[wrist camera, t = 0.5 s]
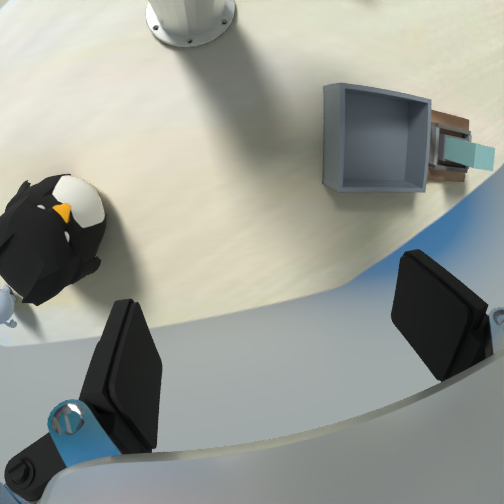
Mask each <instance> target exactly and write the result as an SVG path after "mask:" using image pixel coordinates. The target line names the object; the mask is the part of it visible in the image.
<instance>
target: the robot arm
mask: <svg viewBox="0 0 504 504" xmlns="http://www.w3.org/2000/svg"><path fill="white" fill-rule="evenodd" d="M148 2H149V3H148V5H147V8H146V22H147V24H148V27H149V29H150V31H151V32H152V33H153V34H154V36H155V37H157V38H158V39H159V40H160V41H162V42H164V43H166V44H169V45H172V46H176V47H194V46H200V45H203V44H206V43H209V42H210V41H212V40H214V39H216V38H217V37H219V36H220V35H221V34H223V33H224V31H225V30H226V29H227V28H228V27H229V25H230V23H231V22H232V19H233V17H234V12H235V2H234V0H148ZM222 23H226V24H225V25H223V24H222ZM156 28H158V30H156V31H155V29H156ZM189 41H192V43H188V42H189ZM487 308H488V304H487V303H486V302H484V301H483V300H482V299H481V298H480V297H479V296H477V295H476V294H475V293H474V292H473V291H472V290H470V289H469V288H468V287H467V286H465V285H464V284H463V283H462V282H461V281H460V280H458V279H457V278H456V277H454V276H453V275H452V274H451V273H449V272H448V271H447V270H446V269H445V268H443V267H442V266H440V265H439V264H438V263H437V262H435V261H434V260H433V259H432V258H430V257H429V256H428V255H426V254H425V253H424V252H422V251H421V250H419V249H416V250H412V251H406V252H405V253H404V254H403V256H402V257H401V259H400V264H399V272H398V278H397V284H396V290H395V296H394V301H393V307H392V312H391V319H392V322H393V323H394V325H395V326H396V327H397V329H398V330H399V331H400V332H401V333H402V335H403V336H404V337H405V339H406V340H407V341H408V342H409V344H410V345H411V346H412V347H413V349H414V350H415V351H416V353H417V354H418V355H419V357H420V358H421V359H422V361H423V362H424V363H425V364H426V366H427V367H428V368H429V370H430V371H431V373H432V374H433V375H434V377H435V378H436V379H437V380H440V381H441V383H439V384H437V385H435V386H433V387H430V388H428V389H426V390H424V391H422V392H419V393H417V394H415V395H412V396H410V397H408V398H405V399H403V400H400V401H398V402H395V403H393V404H390V405H388V406H385V407H382V408H380V409H377V410H374V411H371V412H368V413H365V414H363V415H360V416H357V417H353V418H350V419H347V420H344V421H341V422H338V423H334V424H331V425H327V426H323V427H320V428H316V429H312V430H308V431H304V432H300V433H296V434H292V435H288V436H283V437H278V438H273V439H268V440H262V441H257V442H252V443H245V444H239V445H232V446H224V447H215V448H207V449H198V450H187V451H174V452H156V453H152V449H155V448H156V446H157V432H158V415H159V401H160V389H161V378H162V362H161V358H160V356H159V354H158V352H157V349H156V347H155V344H154V341H153V339H152V336H151V334H150V331H149V329H148V326H147V323H146V321H145V318H144V315H143V312H142V310H141V307H140V305H139V303H138V302H135V303H134V301H133V300H132V299H125V300H117V301H115V303H114V305H113V307H112V310H111V313H110V315H109V318H108V320H107V323H106V326H105V328H104V331H103V334H102V336H101V339H100V341H99V342H98V343H97V345H96V348H95V351H94V354H93V356H92V359H91V362H90V365H89V368H88V371H87V375H86V377H85V381H84V384H83V387H82V390H81V393H80V397H79V400H75V399H71V400H66V401H63V402H61V403H59V404H58V405H57V406H56V407H54V409H53V410H52V411H51V412H50V415H49V417H48V423H47V425H48V429H49V433H47V434H46V435H44V436H43V437H42V438H40V439H39V440H37V441H36V442H34V443H33V444H31V445H30V446H29V447H27V448H26V449H24V450H23V451H21V452H20V453H18V454H17V455H16V456H14V457H13V458H12V459H11V460H10V461H9V462H8V464H7V465H6V468H5V481H6V483H5V484H2V483H0V504H504V308H502V307H497V308H494V309H492V310H491V311H490V313H489V316H488V315H487V314H486V310H487Z"/></svg>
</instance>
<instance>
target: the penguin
mask: <svg viewBox="0 0 504 504" xmlns="http://www.w3.org/2000/svg"><path fill="white" fill-rule="evenodd" d="M30 184H31V183H28V180H27V181H25V182H24V183H23V184H22V185H21V187H20V188H19V190H18V192H17V194H16V195H15V196H14V197H13V198H12V199H11V201H10V202H9V203H8V204H7V206H6V209H5V213H4V214H3V215H1V216H0V275H1V276H2V278H3V279H4V280H5V281H6V283H7V284H8V285H9V286H10V287H12V288H13V289H14V290H15V291H16V292H17V293H18V294H19V295H21V296H22V297H23V300H22V303H33V304H34V305H36V306H38V305H40V304H42V303H44V302H46V301H48V300H49V299H51V298H53V297H54V296H56V295H57V294H58V293H59V292H60V291H61V290H62V289H63V288H64V287H66V286H68V285H70V284H74V283H75V282H77V281H79V280H80V279H82V278H83V277H85V276H86V275H89V274H92V273H94V272H95V271H96V270H97V269H98V268H99V266H100V263H101V260H100V259H99V258H98V257H95V256H96V253H97V250H98V247H99V244H100V242H101V240H102V237H103V235H104V232H105V227H106V216H107V215H106V214H105V213H104V209H103V205H102V201H101V198H100V197H99V195H98V193H97V191H96V189H95V188H94V187H93V186H92V185H91V184H89V183H88V182H86V181H85V180H84V179H81V178H77V177H74V176H71V174H62V175H56V176H51V177H47V178H45V179H44V180H42V181H41V182H40V183H38V184H35V185H33V186H30Z"/></svg>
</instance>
